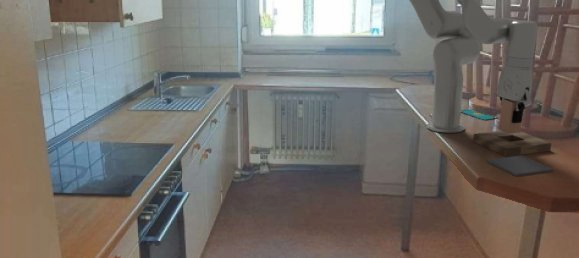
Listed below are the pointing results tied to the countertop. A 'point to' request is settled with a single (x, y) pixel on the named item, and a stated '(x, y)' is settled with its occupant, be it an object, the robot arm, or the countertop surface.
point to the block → (508, 117)
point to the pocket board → (511, 143)
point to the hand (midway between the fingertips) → (510, 119)
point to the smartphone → (476, 114)
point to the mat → (519, 165)
